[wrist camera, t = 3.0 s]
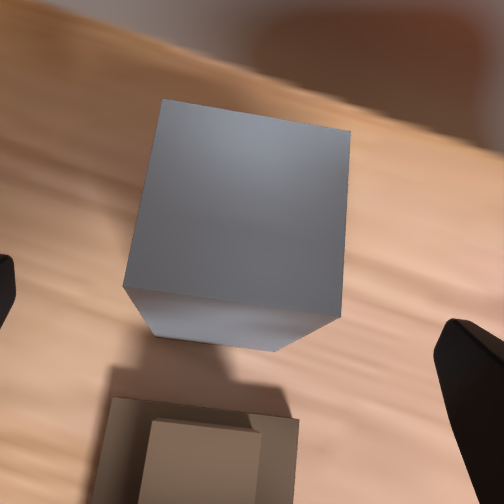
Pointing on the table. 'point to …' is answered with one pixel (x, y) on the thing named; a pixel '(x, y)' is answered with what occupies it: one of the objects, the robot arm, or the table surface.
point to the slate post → (240, 228)
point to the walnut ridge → (194, 456)
